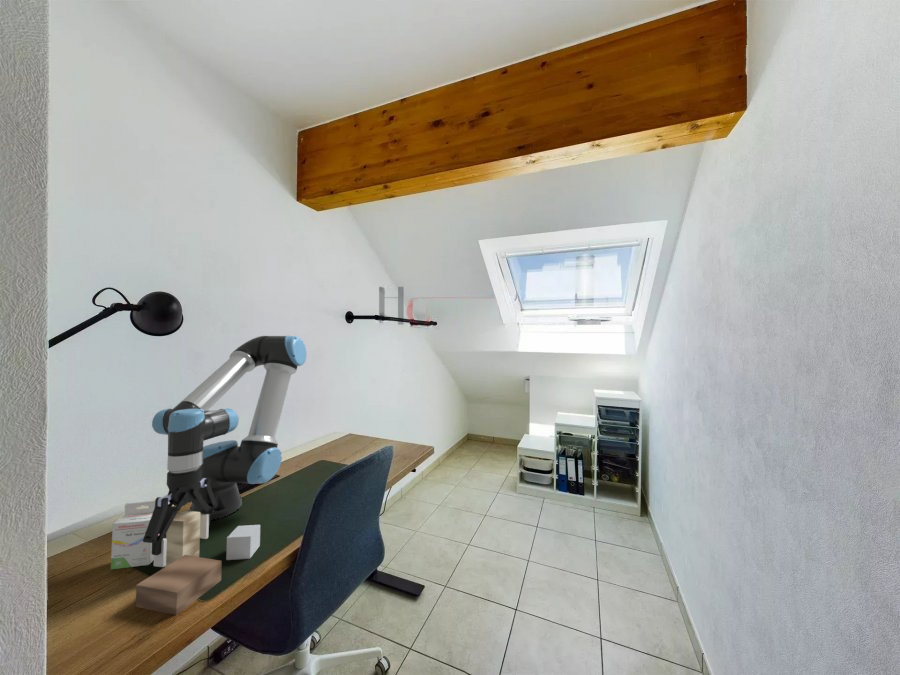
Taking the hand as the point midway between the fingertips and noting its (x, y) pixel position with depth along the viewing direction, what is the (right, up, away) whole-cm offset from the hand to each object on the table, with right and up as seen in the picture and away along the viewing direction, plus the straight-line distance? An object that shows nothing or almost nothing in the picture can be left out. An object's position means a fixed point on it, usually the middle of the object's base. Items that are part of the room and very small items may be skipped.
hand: (182, 550), depth 90 cm
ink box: (-12, -3, 0) cm, 13 cm away
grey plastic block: (+14, -3, +4) cm, 15 cm away
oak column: (0, -3, 0) cm, 3 cm away
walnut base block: (+9, -3, -11) cm, 14 cm away
